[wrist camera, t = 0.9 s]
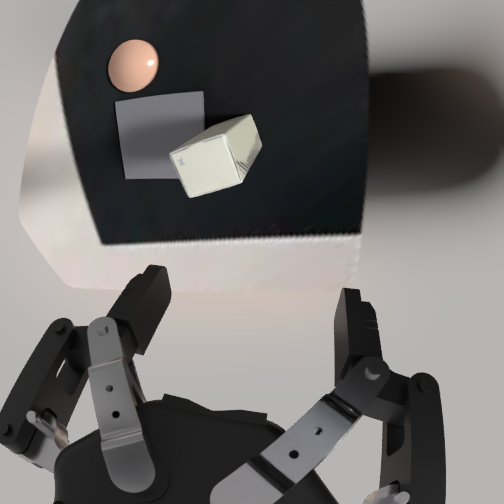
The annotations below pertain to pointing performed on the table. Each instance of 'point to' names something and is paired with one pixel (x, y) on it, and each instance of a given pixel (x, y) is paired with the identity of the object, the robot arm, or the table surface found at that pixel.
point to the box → (217, 156)
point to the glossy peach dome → (133, 65)
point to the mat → (157, 131)
